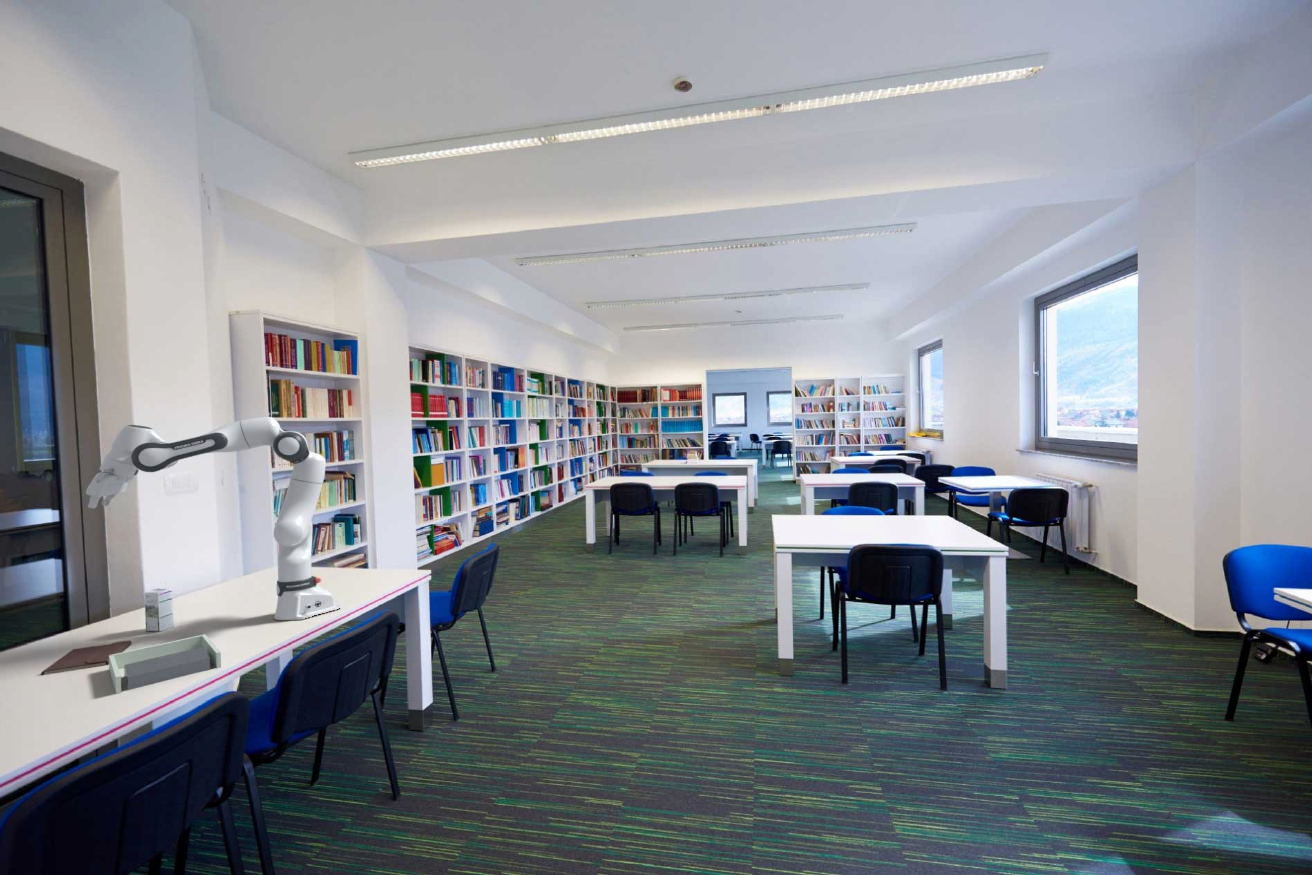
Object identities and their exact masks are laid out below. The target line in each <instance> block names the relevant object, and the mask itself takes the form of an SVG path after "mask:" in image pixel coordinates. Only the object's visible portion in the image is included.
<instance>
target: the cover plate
mask: <svg viewBox="0 0 1312 875" xmlns="http://www.w3.org/2000/svg"><path fill="white" fill-rule="evenodd" d="M209 670H211V660H210V657H209V656H208V655H207V653H206V652H205V650H204V649H203V648H202V647H200V648H195V649H191V650H187V651H182V652H178V653H174V654H169V655H165V656H161V657H156V658H152V659H148V660H143V661H139V662H135V663H130V664H126V665H124V668H123V673H124V677H123V678H124V680H125V683H126V684H125V685H126V688H127V690H128V691H130V690H135V689H138V688H142V687H146V686H151V685H154V684H158V683H162V682H166V681H169V680H173V679H177V678H181V677H182V678H183V677H185V676H189V675H192V674H198V673H201V672H207V671H209Z"/></svg>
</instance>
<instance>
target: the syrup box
mask: <svg viewBox="0 0 1312 875" xmlns="http://www.w3.org/2000/svg"><path fill="white" fill-rule="evenodd" d="M173 598H174V597H173V588H171V587H170V588H167V587H166V588H164V587H163V588H162V587H161V588H154V589H151V590H148V591H145V592H144V611H145V612H144V616H145V632H163V631H166V630H170V629H172V628H173V627H174V626H175V625H174V601H173V600H174V599H173Z"/></svg>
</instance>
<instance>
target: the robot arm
mask: <svg viewBox="0 0 1312 875" xmlns="http://www.w3.org/2000/svg"><path fill="white" fill-rule="evenodd" d="M118 432H119V433H118V434H117V435H116V437H115V439H114V441H113V442H112V445H111V449H110V451H109V452H108V453H107V454H106V455H105V457H104V459H103V461H102V463H101V465H100V467H99V470H100V471H102V472H98V473H97V474H95V475H94V477H93V478H92V480H91V482H90V483H89V485H88V487H87V488H86V491H85V495H87V496H90V497H89V502H88V504H87V507H88V508H89V509H96V508H97V506H98V504H99V503H98V502H99V500H100V499H101V498H102V497H104V499H103V500H102V502H101V506H104V507H106V506H107V507H108V506H110V505H111V503H112V501H113V500H114V499H115V498H116V497H117V496H118V495H119V494H124V492H126V491H127V489H128V488H129V486H130V485H131V483H132V482H133V480H134V479H135V478H134V477H135V476H138V474H139V473H140V471H141V472H144V473H156V472H159V471H161V470H165V469H169V468H171V467H174V466H175V465H176V464H177V463H178V461H181V460H184V459H187V458H192V457H197V456H200V455H204V454H211V453H213V454H214V453H235V452H241V451H247V450H251V449H254V448H258V447H263V446H269V447H271V448H273V451H274V453H275V455H276V456H277V457H279V458H280V459H282V460H285V461H287V462H289V463H292V466H293V468H292V472H291V476H290V480H289V484H288V486H287V491H286V494H285V498H284V501H283V503H282V504H281V508H280V511H279V514H278V516H277V519H276V522H275V526H274V528H273V538H274V540H275V541H276V542H277V543H278V544H279V550H278V557H277V580H276V594H277V603H276V609H275V613H274V617H273V619H275V620H277V621H291V620H292V621H293V620H296V621H298V620H299V621H301V620H305V618H307V619H309V618H308V617H310V618H313V617H312V616H314V615H317V616H319V615H318V614H320V613H325V612H326V611H331V610H333V609H336V608H340V607H341V608H342V604H341V603H340V602H337V601H335V596H334V594H333V593H332V591H331V590H329V589H326V588H325V587H323V586H321V585H319V584H320V583H321V582H322V578H321V577H318V576H313V574H312V552H313V551H312V550H313V549H312V548H313V529H314V528H313V521H312V520H313V516H314V513H315V510H316V508H317V505H318V503H319V498H320V495H321V492H322V491H321V490H322V488H323V483H324V479H325V475H326V464H327V462H326V458H325V457H324V456H323V455H321V454H319V453H317V452H312V451H310V449H309V443H308V439H307V437H305V436H304V434H302V433H301V432H299V431H296V430H288V429H282V428H281V426H280V424H279V422H278V421H277V420H276V419H275V418H274V417H271V416H261V417H253V418H252V417H251V418H246V419H242V420H238V421H233V422H230V423H228V424H224V425H223V426H220V427H218V428H216V429H213V430H212V431H209V432H206V433H204V434H202V435H199V436H196V437H195V436H194V437H190V438H187V439H182V440H177V441H174V442H168V441H166V440H165V439H164V438H162V437H161V436H160V435H159V434H158V433H157V432H156V431H155V429H153V428H152V427H149V426H143V425H137V424H130V425H129V424H128V425H125V426H124V427H123V428H122V429H121V430H120V431H118ZM325 614H326V613H325ZM314 617H315V616H314Z"/></svg>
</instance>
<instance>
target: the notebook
mask: <svg viewBox="0 0 1312 875" xmlns="http://www.w3.org/2000/svg"><path fill="white" fill-rule="evenodd" d="M132 644H133V642H132V640H131V639H130V640H122V641H121V640H120V641H116V642H112V643H106V644H100V645H93V646H85V647H79V648H72V649H71V650H70V651H69V652H68V653H66V654H65V655H63V656H62V657H60V658H59V659H58V660H56V661H55V662H54V663H52V664H50V665H49V666H48V667H46V668H45V669H44V670H43V671H41V674H40V675H41V676H43V675H51V674H50V673H52V674H56V673H62V672H63V673H65V672H69V671H70V672H71V671H76V670H83V669H90V668H96V667H103V666H109V655H113V654H117V653H122V652H125V651H126V650H127V649H128V648H129V647H130V646H132Z"/></svg>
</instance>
